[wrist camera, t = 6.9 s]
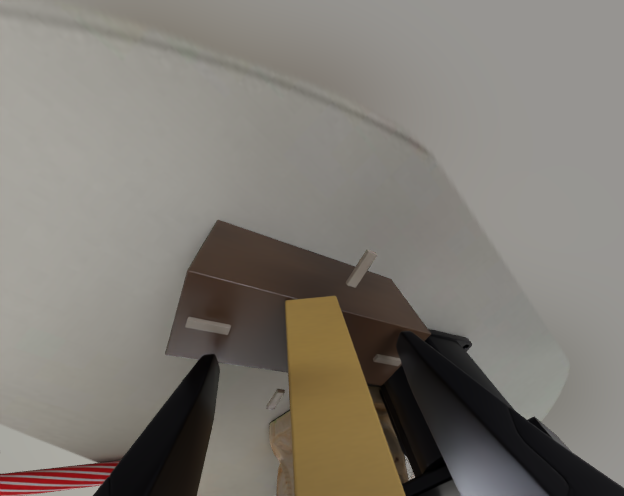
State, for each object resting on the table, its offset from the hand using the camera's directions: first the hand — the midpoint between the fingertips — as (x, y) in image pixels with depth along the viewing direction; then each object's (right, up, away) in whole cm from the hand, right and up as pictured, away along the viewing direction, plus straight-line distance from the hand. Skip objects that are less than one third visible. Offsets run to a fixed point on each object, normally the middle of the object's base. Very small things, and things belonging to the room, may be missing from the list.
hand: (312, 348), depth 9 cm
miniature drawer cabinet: (-1, +2, +4) cm, 4 cm away
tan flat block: (0, 0, 0) cm, 0 cm away
